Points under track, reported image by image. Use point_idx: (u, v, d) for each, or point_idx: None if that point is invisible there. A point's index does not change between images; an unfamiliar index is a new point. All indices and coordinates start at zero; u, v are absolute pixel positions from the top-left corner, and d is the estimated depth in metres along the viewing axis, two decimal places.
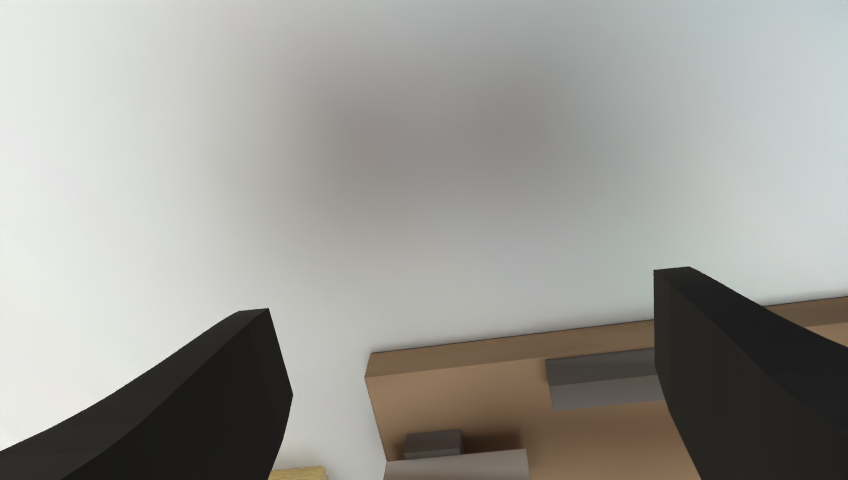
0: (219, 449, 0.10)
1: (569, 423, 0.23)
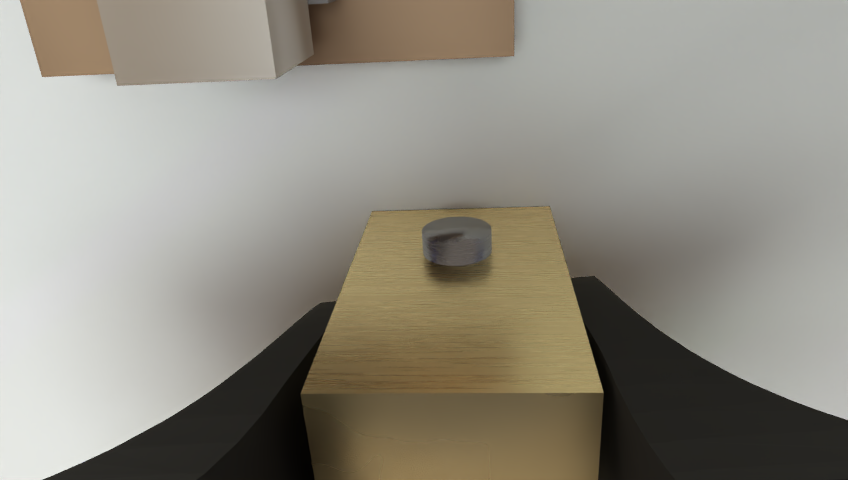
0: None
1: None
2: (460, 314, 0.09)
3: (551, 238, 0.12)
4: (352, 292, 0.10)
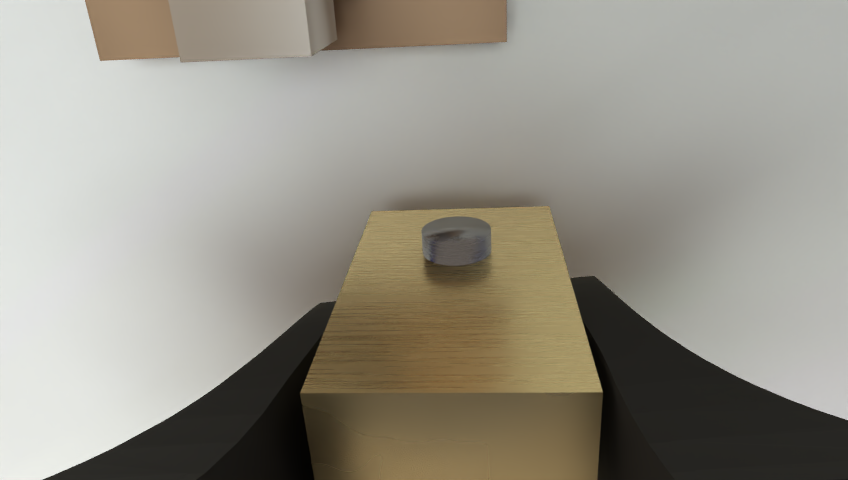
0: None
1: None
2: (459, 314, 0.09)
3: (551, 238, 0.12)
4: (352, 292, 0.10)
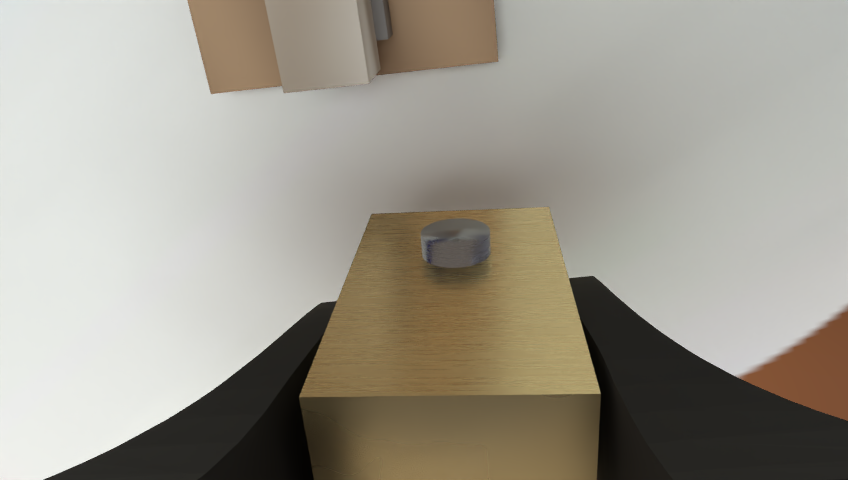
0: None
1: None
2: (457, 316, 0.09)
3: (550, 239, 0.12)
4: (351, 295, 0.10)
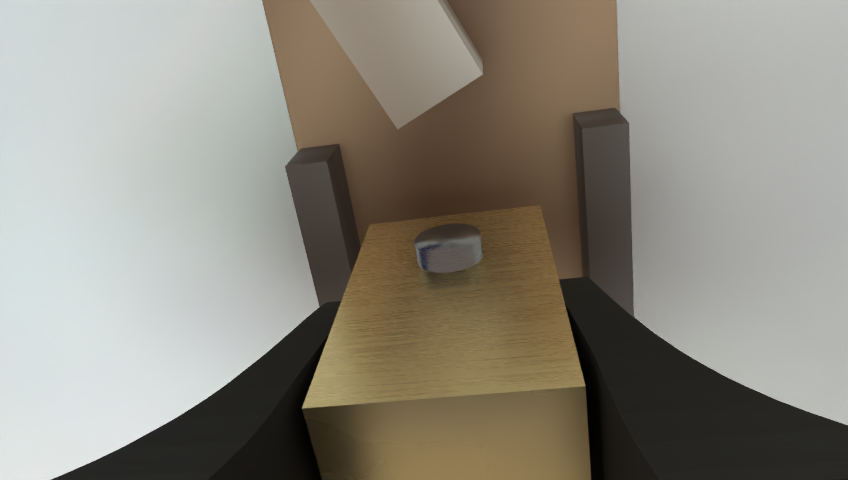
0: None
1: None
2: (451, 320, 0.10)
3: (540, 237, 0.12)
4: (350, 306, 0.11)
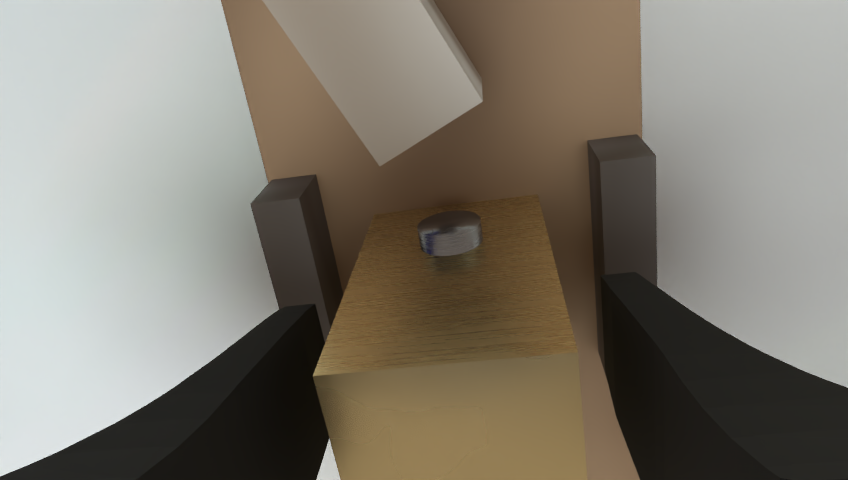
0: (275, 445, 0.10)
1: None
2: (452, 297, 0.10)
3: (537, 223, 0.13)
4: (356, 287, 0.11)
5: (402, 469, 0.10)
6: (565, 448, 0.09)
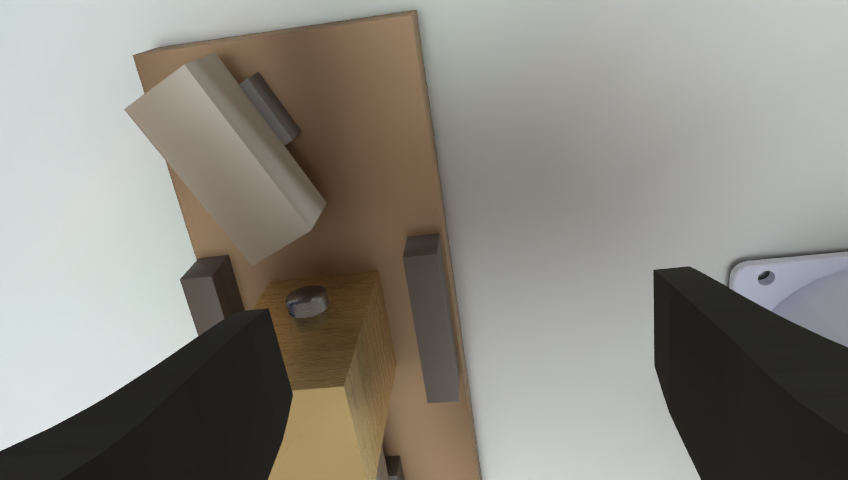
0: (219, 449, 0.10)
1: None
2: (293, 348, 0.17)
3: (366, 294, 0.19)
4: None
5: None
6: (345, 440, 0.16)
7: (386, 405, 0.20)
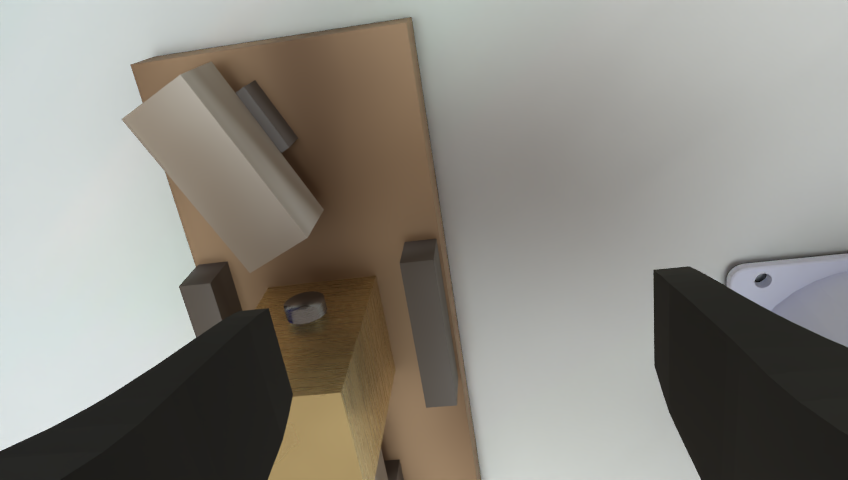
0: (219, 449, 0.10)
1: None
2: (291, 355, 0.17)
3: (364, 300, 0.19)
4: None
5: None
6: (343, 446, 0.16)
7: (384, 410, 0.20)
